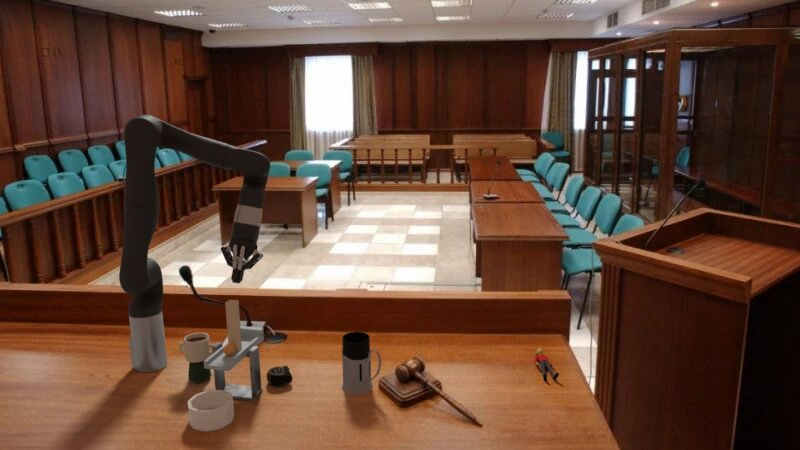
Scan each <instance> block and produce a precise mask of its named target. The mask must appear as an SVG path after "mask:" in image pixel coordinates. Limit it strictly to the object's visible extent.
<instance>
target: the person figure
mask: <svg viewBox="0 0 800 450" xmlns="http://www.w3.org/2000/svg"><path fill="white" fill-rule="evenodd" d="M534 353H535V356H534V364H535V365H536V366H537V367H538V366H540V369H541V374H542V377H543V382H547V381H548V380H547V378H548V374H546V369H547V370H548V372H549V374H550V377H551V378H552V380H554V381H556V380H557V379H558V377H559V376H560V373H559V372H557V371H556V372H555V374H554V371H553V369H552V368H554V364H553V363H551V362H550V360H549V359H548V357H547V356H546V355H545V354H544V350H543V349H542V348H541V347H538V348H537V349H536V350H535V352H534Z"/></svg>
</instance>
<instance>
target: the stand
mask: <svg viewBox="0 0 800 450" xmlns="http://www.w3.org/2000/svg"><path fill="white" fill-rule="evenodd" d="M213 344H214V345H213V346H212V347H211V351H212V354H213V353H215V352H216V351H217V350H218V349H220V348H221V347H222V346H223V342H219V341H217V342H215V343H213ZM248 358H249V360H248V362H249V373H250V374H249V375H250V386H249V385H243V384H242V385H241V384H234V383H226V376H225V375H226V373H225V372H226V371H222V370H213V377H214V386H215V389H214V390H224V391H227V392H229V393H231V394H232V398H233V400H240V401H248V402H249V401H250V402H254V401H255V400H256V398H258V396H259V395H260V394H261V393H262V392H263V391H264V389H263V387H262V376H261V375H262V374H261V365H260V363H261V361H260V347H259V345H258V346H253V347H252V348H251V349H250V350H249V357H248Z"/></svg>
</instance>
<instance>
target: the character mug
mask: <svg viewBox="0 0 800 450" xmlns="http://www.w3.org/2000/svg"><path fill="white" fill-rule="evenodd" d="M214 344H215V343H211V340H210V335H209V334H208V333H206V332H193V333H189V334H187V335H185V336H184V338H183V341H181V342H178V348H179V353H181V354H184V358H185V360H186V362H189V364H188V376H187V377H188V380H189V381H190V382H192V383H201V382H204V381H207V380H208V379H209V378H212V377H211V376H212V372H211V369H205V368H204V361H205V360H206V359H207V358H209V357H210V356H211V355H212V346H213V345H214Z"/></svg>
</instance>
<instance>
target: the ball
mask: <svg viewBox="0 0 800 450" xmlns="http://www.w3.org/2000/svg"><path fill="white" fill-rule="evenodd" d="M223 351H224V354H226V355H228V356H230V355H232V354H233V353H234V352H235V347H234V346H233V345H232V344H227V345H226V346H225V347H224V349H223Z"/></svg>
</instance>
